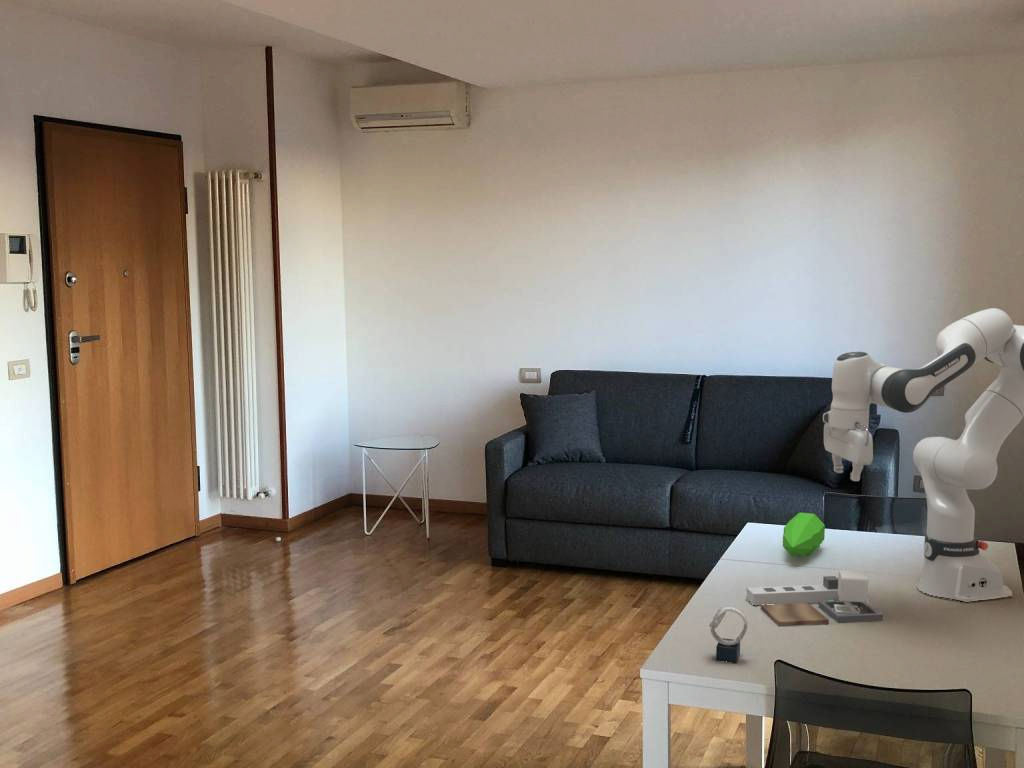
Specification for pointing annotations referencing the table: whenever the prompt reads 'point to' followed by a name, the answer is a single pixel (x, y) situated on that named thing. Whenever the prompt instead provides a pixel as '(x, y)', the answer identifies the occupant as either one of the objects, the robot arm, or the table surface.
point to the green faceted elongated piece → (803, 534)
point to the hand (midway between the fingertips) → (846, 476)
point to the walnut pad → (794, 614)
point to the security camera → (851, 591)
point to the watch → (727, 647)
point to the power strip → (795, 593)
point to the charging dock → (872, 615)
